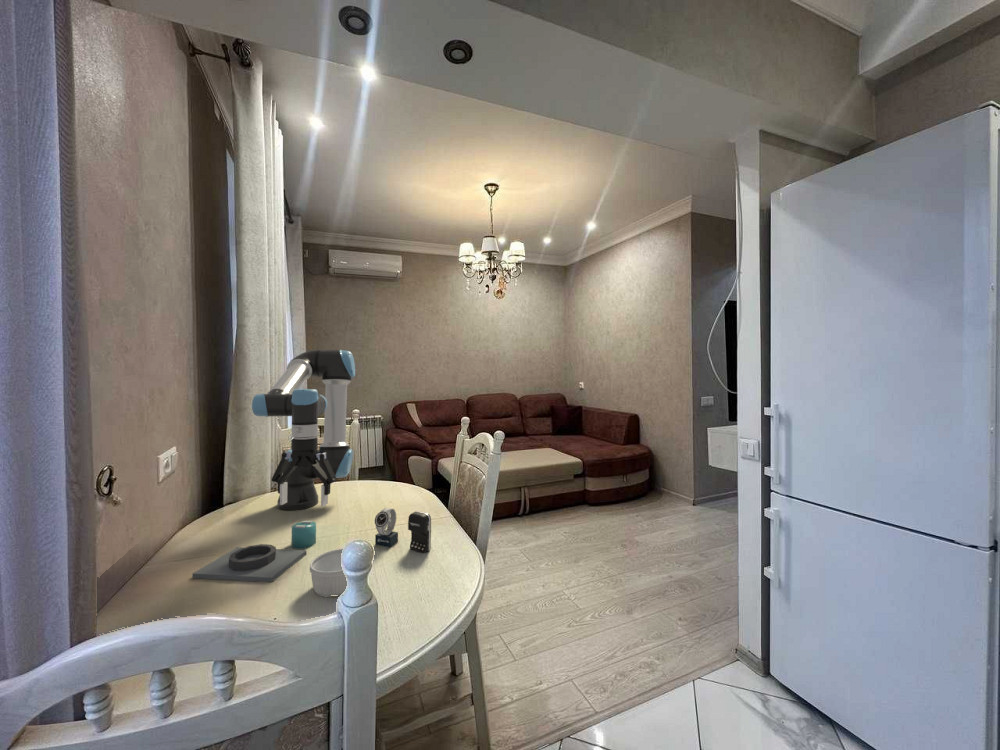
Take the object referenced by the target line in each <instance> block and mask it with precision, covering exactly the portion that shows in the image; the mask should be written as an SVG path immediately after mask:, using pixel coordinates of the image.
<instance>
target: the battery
mask: <svg viewBox="0 0 1000 750" xmlns="http://www.w3.org/2000/svg"><path fill="white" fill-rule="evenodd" d="M407 520H408V521H407V523H408V524H407V530H408V531H410V532H411V535H410V536H411V537H410V538H411V539H410V544H409V549H410V550H412V551H415V552H419V553H423V554H424V553H427V552H429V551H430V550H431V549H432V548H431V537H432V516H431V514H429V513H428V512H424V511H420V510H415V511H414V512H412V513H410V514H409V515H408V519H407Z"/></svg>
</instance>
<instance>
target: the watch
mask: <svg viewBox="0 0 1000 750" xmlns="http://www.w3.org/2000/svg"><path fill="white" fill-rule="evenodd" d="M396 522H397V512H396V510H395V509H394V508H391V507H390V508H389V507H385V508H383V509H381V510H380V511H379V512H378V513H377V514H376V515H375V517H374V525H375V529H376V531H377V533H376V534H374V535H375V537H374V538H375V539H374V543H375V544H374V545H375V546H380V547H385V548H391V547H393V546H394V545H396V544H397V543H399V532H398V531H394V529H395V528H396V527H395V526H396Z"/></svg>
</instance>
